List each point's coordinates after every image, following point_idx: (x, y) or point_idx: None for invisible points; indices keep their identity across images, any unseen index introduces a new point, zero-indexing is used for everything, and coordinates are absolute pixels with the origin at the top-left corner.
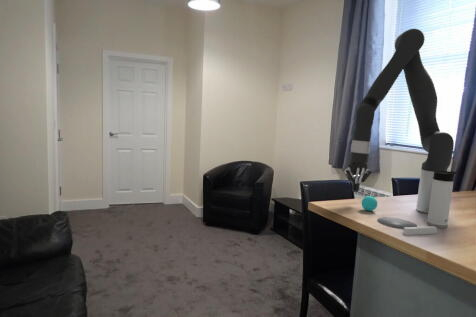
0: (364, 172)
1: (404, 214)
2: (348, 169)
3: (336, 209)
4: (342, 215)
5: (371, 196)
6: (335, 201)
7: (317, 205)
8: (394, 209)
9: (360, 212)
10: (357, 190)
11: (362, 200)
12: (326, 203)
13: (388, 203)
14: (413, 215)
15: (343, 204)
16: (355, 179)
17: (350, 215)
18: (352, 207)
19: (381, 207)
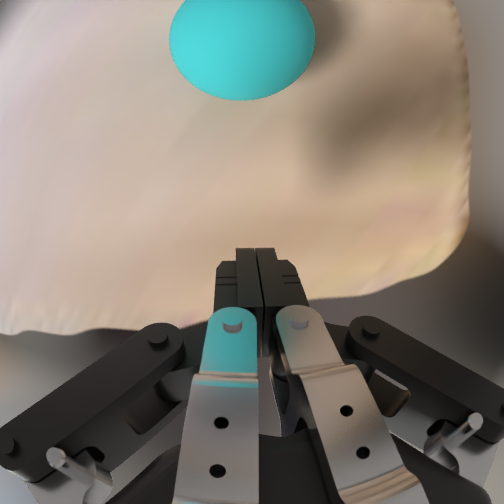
0: (109, 480)
1: (51, 4)
2: (486, 457)
3: (435, 128)
4: (459, 39)
5: (237, 6)
6: (321, 285)
7: (461, 216)
8: (29, 102)
9: (336, 30)
10: (246, 252)
11: (309, 59)
12: (403, 247)
13: (8, 236)
14: (24, 3)
15: (321, 220)
16: (330, 351)
17: (427, 19)
18: (310, 142)
19: (76, 139)
